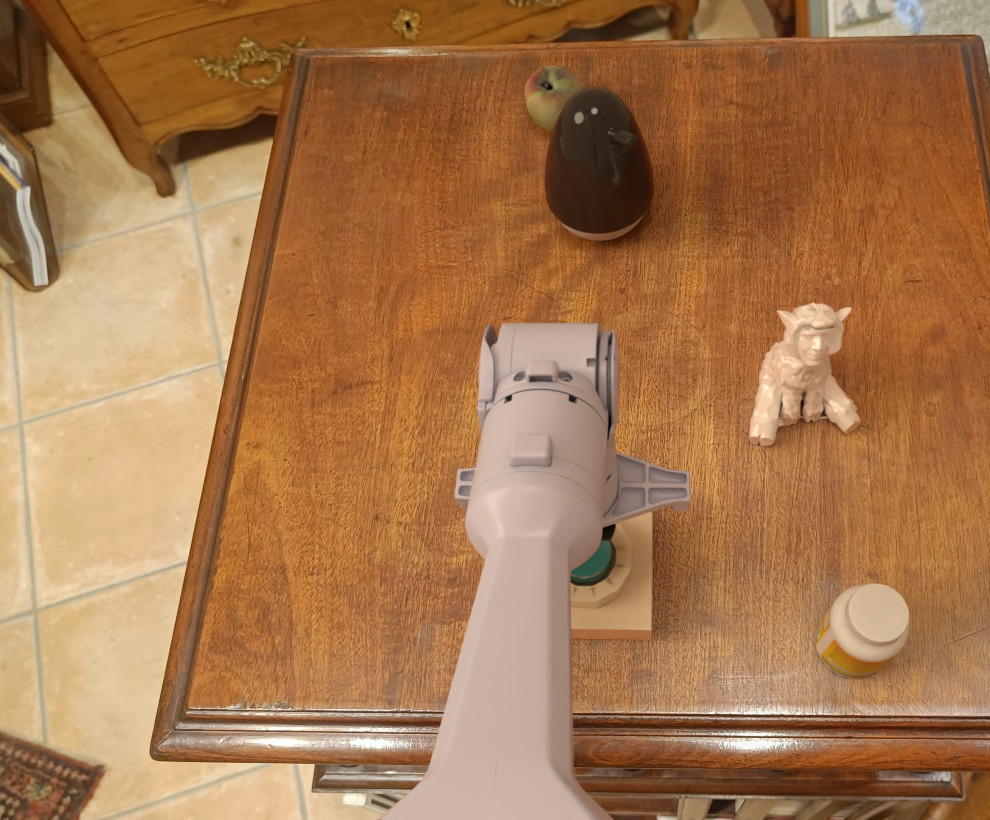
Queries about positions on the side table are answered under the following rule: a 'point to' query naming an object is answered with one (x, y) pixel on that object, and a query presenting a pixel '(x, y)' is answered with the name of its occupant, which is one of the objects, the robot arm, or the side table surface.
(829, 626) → the supplement bottle
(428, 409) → the side table surface
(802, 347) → the white creature statuette
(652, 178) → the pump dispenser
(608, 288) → the side table surface
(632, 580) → the push button box
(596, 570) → the teal button
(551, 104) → the apple
